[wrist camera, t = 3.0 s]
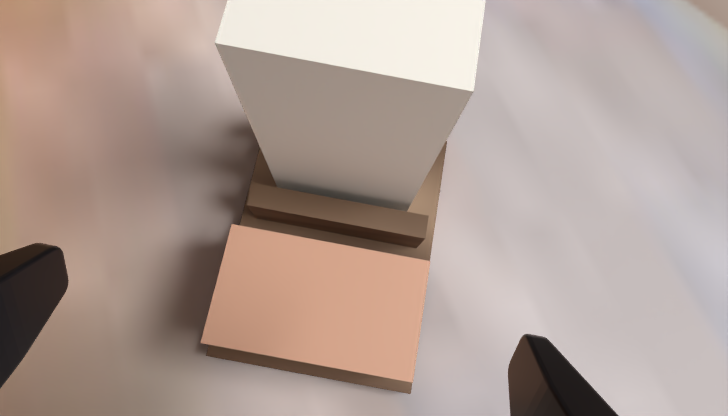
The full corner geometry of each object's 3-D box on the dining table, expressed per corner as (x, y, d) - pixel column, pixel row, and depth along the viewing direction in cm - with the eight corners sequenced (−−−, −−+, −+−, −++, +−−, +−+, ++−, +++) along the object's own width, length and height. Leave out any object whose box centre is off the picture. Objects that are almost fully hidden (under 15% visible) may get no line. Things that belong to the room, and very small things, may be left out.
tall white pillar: (404, 216, 22) (473, 91, 11) (280, 193, 22) (214, 43, 11) (411, 167, 23) (485, 0, 11) (291, 145, 23) (241, -46, 11)
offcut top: (406, 378, 19) (412, 382, 17) (211, 342, 19) (200, 342, 17) (423, 266, 20) (430, 261, 19) (240, 232, 20) (231, 223, 19)
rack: (407, 391, 21) (419, 402, 18) (210, 354, 21) (188, 358, 18) (443, 147, 24) (458, 120, 21) (272, 114, 24) (262, 83, 21)
